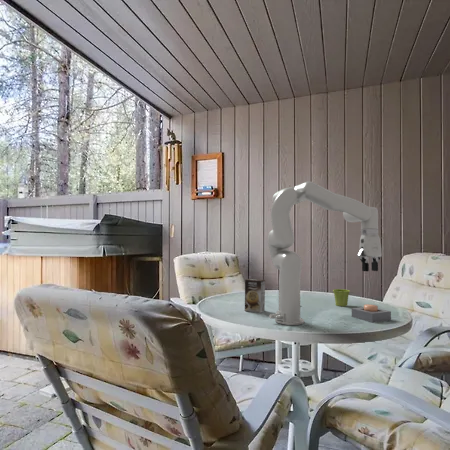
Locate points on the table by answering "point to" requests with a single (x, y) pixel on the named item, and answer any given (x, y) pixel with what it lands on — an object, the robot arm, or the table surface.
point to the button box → (371, 315)
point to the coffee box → (255, 295)
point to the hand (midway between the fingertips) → (370, 270)
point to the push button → (370, 307)
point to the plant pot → (341, 297)
